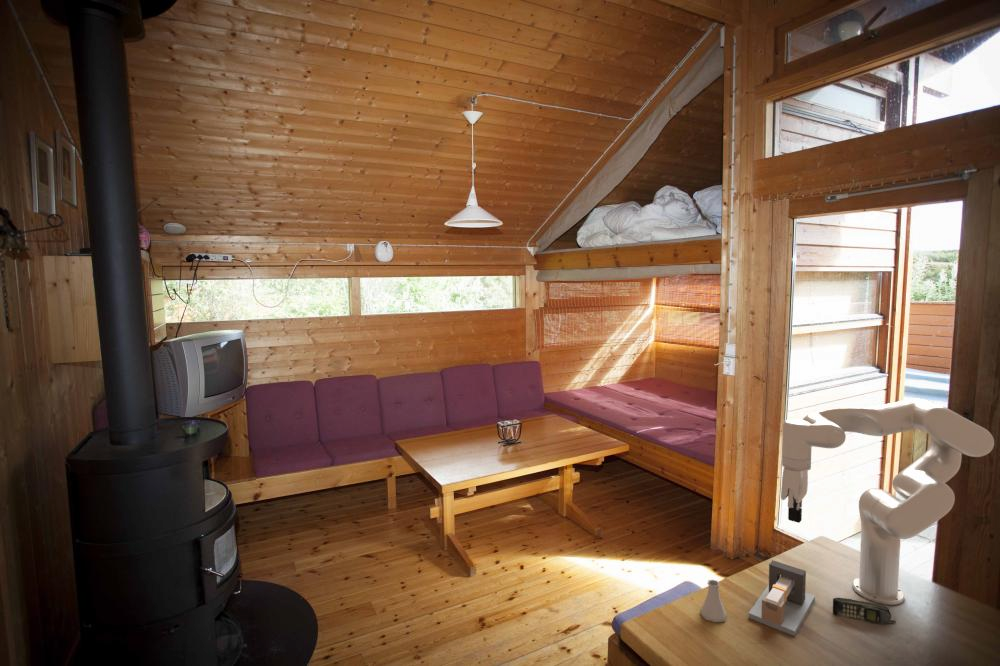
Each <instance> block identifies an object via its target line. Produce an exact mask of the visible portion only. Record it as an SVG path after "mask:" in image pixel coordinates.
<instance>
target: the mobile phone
mask: <svg viewBox="0 0 1000 666" xmlns="http://www.w3.org/2000/svg"><path fill="white" fill-rule="evenodd" d="M832 614H833V615H835V616H837V617H841V618H848V619H853V620H858V621H861V622H862V621H863V622H868V623H871V624H877V625H878V624H879V625H880V624H882V625H883V624H884V625H885V624H886V625H887V624H890V623H892V624H896V623H897V621H896V620H893V619H892V613H891V611H890V608H889V607H887V606H885V605H883V604H882V605H881V604H879V603H875V602H868V601H862V600H858V599H857V600H856V599H851V598H844V597H833V598H832Z"/></svg>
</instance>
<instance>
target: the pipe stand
mask: <svg viewBox="0 0 1000 666" xmlns="http://www.w3.org/2000/svg"><path fill="white" fill-rule="evenodd" d="M792 589H794V580H793V579H790V578H787V577H784V576H781V575H780V578H779V580H778V581H777V583H776V584H773V586H772V590H771V591H770V593H769V584H768V585H767V586H766V588H765V589H764V590H763V592H762V594H761V595H760V596H759V598H757V600H756V602H754V604H753V606H752V607H751V609H750V610H749V611H748V618H749V619H750V620H753V621H755V622H758V623H761V624H762V625H763V624H764V625H766V626H768V627H770V628H773V629H775V630H778V631H781V632H783V633H786V634H789V636H793V637H796V635H797V633H798V632H799V630H800V629H801V626H802V625H803V623H804V620H806V618H807V616H808V613H809V612H810V610H811V609H812V607H813V605H814V603H815V601H816V596H815V595H813V594H810V593H808V592H805V601H804V602H803V604H799V603H796V602H793V601H791V600H788V599H787V596H788V595H789V593H790V592H791V590H792Z"/></svg>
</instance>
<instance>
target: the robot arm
mask: <svg viewBox="0 0 1000 666" xmlns="http://www.w3.org/2000/svg"><path fill="white" fill-rule="evenodd" d="M914 430H918V431H921V432H923V433H926V434H927V435H929V445H928V448H927V450H926V451H925V452H924V453H923V454H921V456H920V457H918V458H917V459H916V460H914V462H912V463H910V464H909V465H908V466H907V467H905V468H904V469H902V470H901V471H899V472H898V474H896V475H895V476H894V478H893V479H892V482H891V483H892V488H893V490H894V491H895V493H897V494H899V496H901V497H902V498H904V499H905V500H903V501H902V500H901V499H900V498H898V497H897V496H895V495H893V494H892V493H890V492H889V491H887V490H884V489H881V488H871V489H870V488H869V489H867V490H865V491H864V492H863V493H861V495H860V497H859V500H858V510H859V511H858V512H859V517H860V526H861V527H860V530H861V531H860V532H861V533H860V551H859V553H860V554H859V574H858V575H859V577H856V578H854V579H853V582H852V587H853V590H854V591H855V592H856V593H857V594H858V595H859V596H861V597H863V598H865V599H867V600H869V601H871V602H873V603H876V604H880V605H881V604H882V605H890V606H892V605H898V604H902V602H904V600H905V593H904V591H903V590H902V589H901V588H900V587H899V576H900V575H899V571H900V556H901V555H900V553H901V540H908V539H911V538H914V537H917V535H919V534H920V533H922V532H924V531H925V530H926V529H928V528H930V527H931V526H932V525H934V524H935V523H937V522H938V521H940V520H941V519H942V518H943V517H945V516H947V514H948V513H949V512H950V511H951V510H952V509H953V506H954V504H955V500H956V497H955V496H956V495H955V492H954V491H953V489H952V488H951V487H950V486H949V485H948V484H946V483H947V482H949V481H950V480H951V479H952V478H953V477H955V476H956V474H958V472H959V470H960V469H961V465H962V455H965V456H968V457H975V458H981V457H984V456H987V455H988V454H990V453H991V451H993V449H994V446H995V440H994V439H995V438H994V436H993V435H992V434H991V432H990V431H989V430H987V428H985V427H983V426H981V425H979V424H977V423H975V422H973V421H971V420H969V419H967V418H966V417H964V416H963V415H960V414H959V413H958V412H955V411H953V410H951V409H949V408H948V407H945V406H943V405H941V404H938V403H935V402H933V401H929V400H927V399H924V398H919V397H918V398H916V397H915V398H908V399H904V400H900V401H899V400H898V401H895V402H890V403H885V404H880V405H875V406H874V405H873V406H870V407H838V408H830V409H824V410H819V411H815V412H811V413H809V414H807V415H805V417H803V418H802V419H799V418H790V419H785V420H784V421H783V424H782V439H781V440H782V441H781V443H782V444H781V445H782V446H781V447H782V448H781V451H782V452H781V466H782V467H783V470H782V471H783V472H782V478H781V479H782V480H781V491H780V498H781V500H783V501H784V500H786V499H787V507H788V510H787V511H788V512H787V519H788V521H791V522H795V523H798V524H799V523H801V522H802V520H803V519H802V517H803V516H802V514H803V511H802V510H803V507H802V506H803V499H804V498H805V497H806V495H807V493H808V488H809V487H808V485H809V484H808V483H809V482H808V481H809V479H808V478H809V476H808V474H809V473H808V471H810V470H811V468H812V447H815V448H822V449H836V448H839V447H841V446H842V445H843V444H844V443H845V441H846V437H847V436H846V433H847V432H848V433H857V434H862V435H867V436H871V437H872V436H873V437H883V436H885V437H886V436H890V435H894V434H898V433H904V432H909V431H914Z"/></svg>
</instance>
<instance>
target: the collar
mask: <svg viewBox="0 0 1000 666" xmlns="http://www.w3.org/2000/svg"><path fill="white" fill-rule="evenodd" d="M806 573H807V571H806V570H804V569H801V568H798V567H795V566H792V565H788V564H787V563H786V564H785V563H783V562H779V561H777V560H773V559H772V560H771V562H770V563H769V565H768V585H769V593H770V591H771V590H772V586H773V584H776V583H777V581H778V580H779V578H780V577H781V576H784V577H787V578H790V579H793V580H794V589H792V590H791V592H790V593H789V595H788V596H787V599H788V600H791V601H793V602H796V603H799V604H803V602H804V601H805V593H806V586H807V585H806V584H807V583H806V580H807V579H806V578H807V577H806V576H807V574H806Z"/></svg>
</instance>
